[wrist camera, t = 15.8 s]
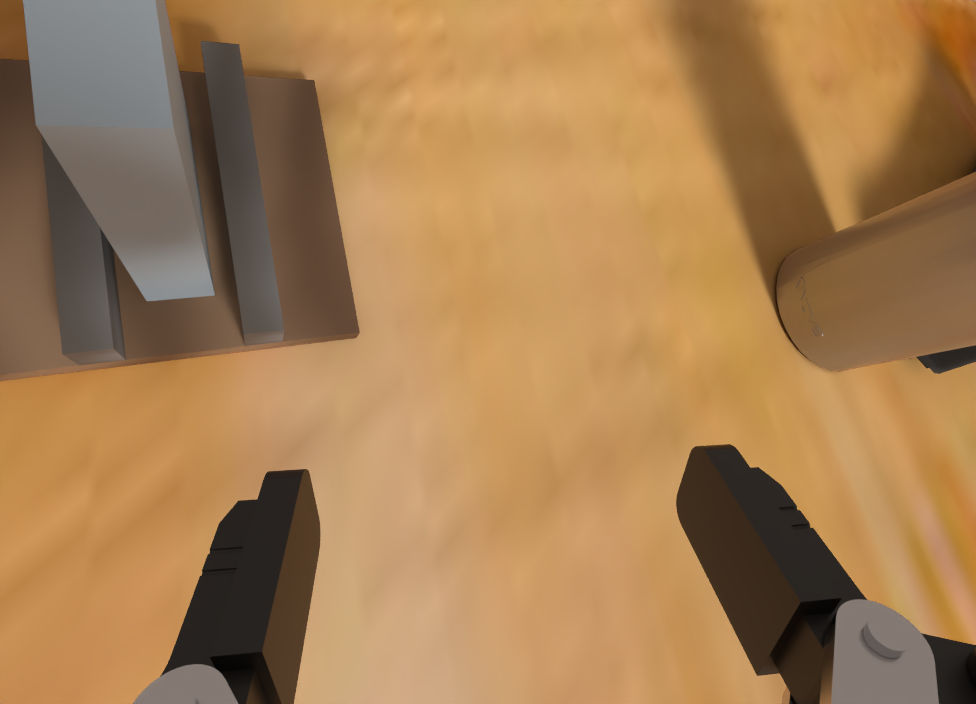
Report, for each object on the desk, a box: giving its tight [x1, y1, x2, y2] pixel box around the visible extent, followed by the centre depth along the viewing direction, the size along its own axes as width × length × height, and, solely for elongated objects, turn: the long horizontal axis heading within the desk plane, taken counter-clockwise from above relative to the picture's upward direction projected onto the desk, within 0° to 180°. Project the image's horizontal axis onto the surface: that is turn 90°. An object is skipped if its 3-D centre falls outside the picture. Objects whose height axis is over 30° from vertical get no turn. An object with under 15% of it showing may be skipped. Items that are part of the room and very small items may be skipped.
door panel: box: [23, 0, 215, 301], centre depth 18 cm, size 2×8×12 cm, turn 13°
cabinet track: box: [0, 41, 360, 381], centre depth 23 cm, size 14×13×3 cm
